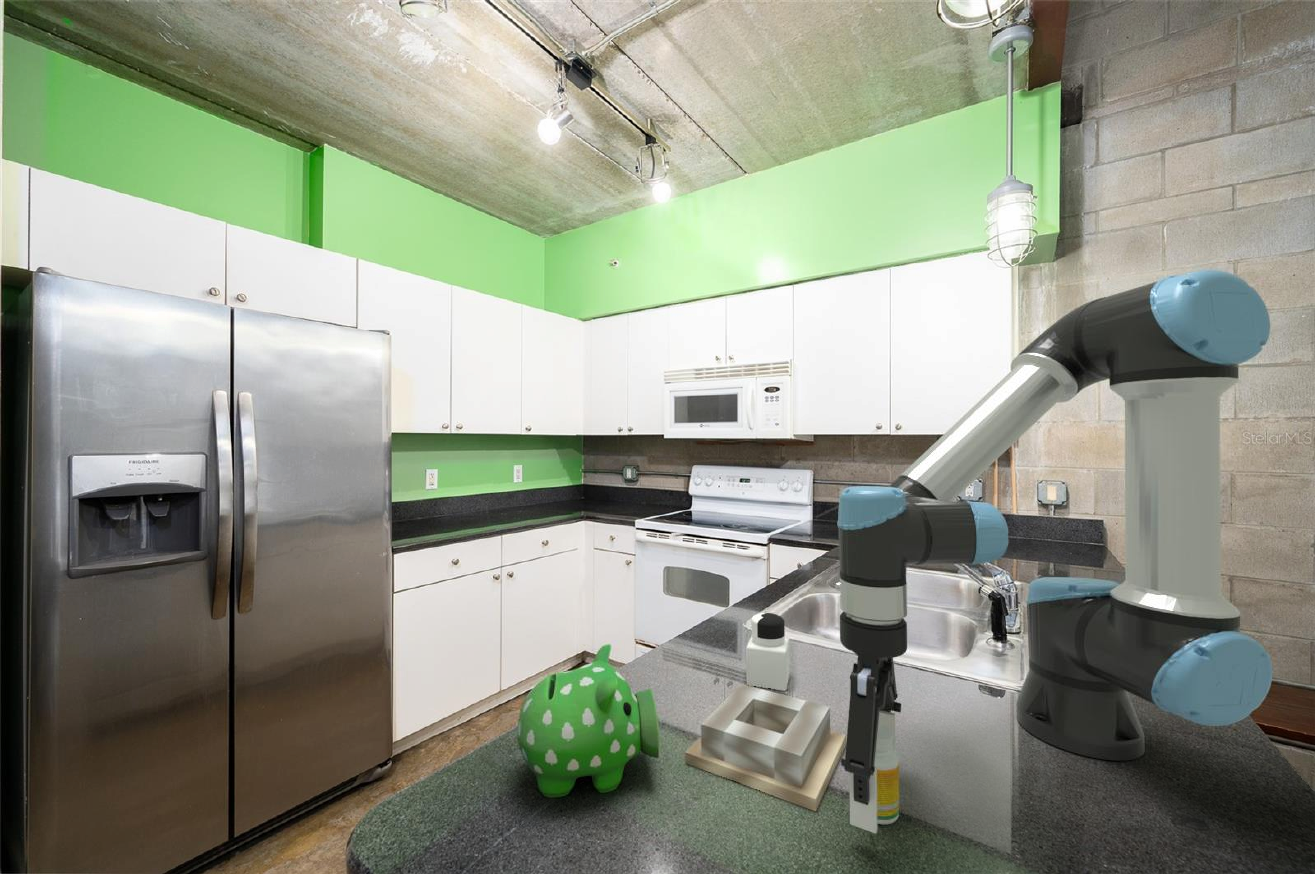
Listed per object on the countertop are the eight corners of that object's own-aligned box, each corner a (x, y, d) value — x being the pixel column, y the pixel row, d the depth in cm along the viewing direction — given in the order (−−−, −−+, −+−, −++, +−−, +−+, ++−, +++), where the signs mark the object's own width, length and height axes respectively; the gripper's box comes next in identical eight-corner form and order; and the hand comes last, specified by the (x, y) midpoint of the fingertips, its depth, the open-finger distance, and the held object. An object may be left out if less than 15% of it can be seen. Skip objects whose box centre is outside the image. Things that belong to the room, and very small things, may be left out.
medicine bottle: (789, 674, 99) (789, 611, 99) (786, 691, 92) (785, 624, 92) (752, 669, 101) (751, 608, 101) (746, 685, 95) (745, 620, 95)
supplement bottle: (842, 808, 63) (841, 728, 63) (865, 789, 66) (864, 713, 66) (885, 833, 59) (884, 748, 59) (907, 812, 62) (906, 731, 62)
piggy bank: (662, 803, 64) (661, 681, 64) (511, 820, 61) (510, 693, 61) (647, 738, 78) (646, 638, 78) (523, 750, 75) (523, 646, 76)
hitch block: (846, 745, 76) (845, 707, 76) (815, 811, 62) (815, 765, 62) (732, 711, 85) (732, 678, 86) (685, 762, 72) (684, 723, 72)
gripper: (860, 585, 75) (862, 732, 75) (812, 642, 54) (814, 846, 54) (918, 593, 71) (920, 748, 71) (890, 657, 50) (893, 878, 50)
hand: (874, 791), depth 62 cm, fingers open, 13 cm apart
